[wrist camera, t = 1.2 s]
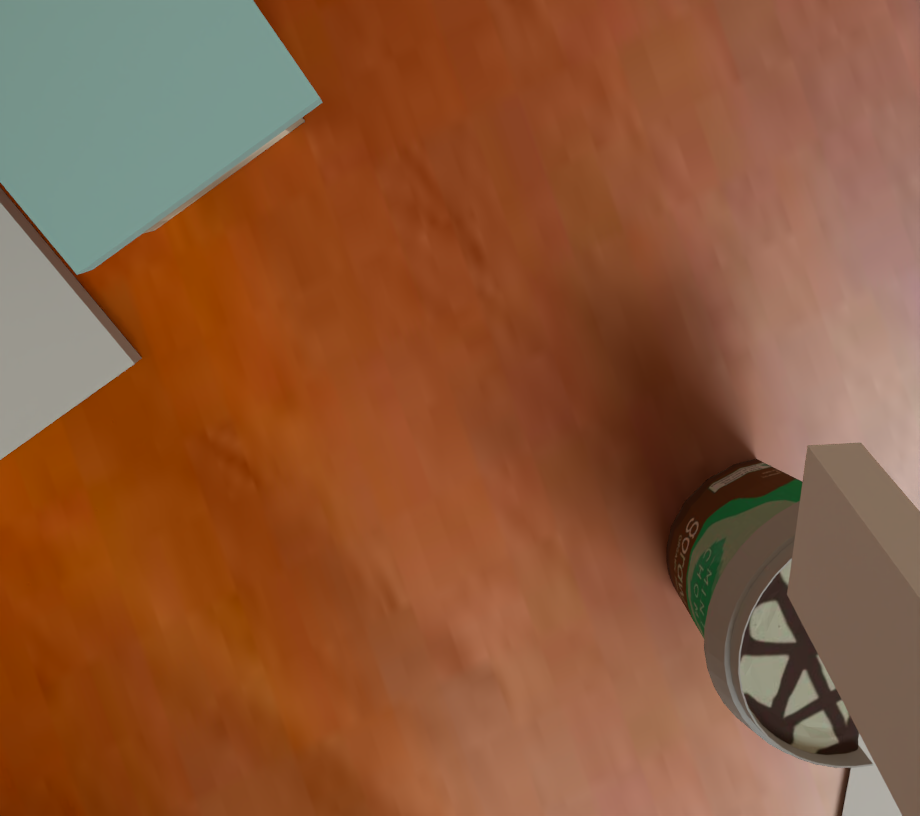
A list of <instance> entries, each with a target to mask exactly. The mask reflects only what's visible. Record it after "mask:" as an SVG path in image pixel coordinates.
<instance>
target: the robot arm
mask: <svg viewBox="0 0 920 816" xmlns="http://www.w3.org/2000/svg"><path fill="white" fill-rule="evenodd" d="M787 596H788V597H789V599H790V601H791V603H792V605H793V607H794V609H795V611H796V613H797V615H798V617H799V619H800V620H801V622H802V624H803V626H804V628H805V630H806V632H807V634H808V636H809V638H810V640H811V642H812V643H813V645H814V647H815V649H816V651H817V653H818V655H819V657H820V659H821V661H822V663H823V665H824V666H825V668H826V670H827V672H828V674H829V676H830V678H831V680H832V682H833V684H834V686H835V688H836V689H837V691H838V693H839V695H840V697H841V699H842V701H843V703H844V705H845V707H846V709H847V711H848V712H849V714H850V716H851V718H852V720H853V722H854V724H855V726H856V728H857V730H858V732H859V734H860V735H861V737H862V739H863V741H864V743H865V745H866V747H867V749H868V751H869V753H870V755H871V757H872V758H873V760H874V762H875V764H876V766H877V768H878V770H879V772H880V774H881V776H882V778H883V780H884V781H885V783H886V785H887V787H888V789H889V791H890V793H891V795H892V797H893V799H894V801H895V803H896V804H897V806H898V808H899V810H900V812H901V814H902V816H920V511H919V510H918V509H917V508H916V507H915V506H914V504H913V503H912V502H911V501H910V500H909V499H908V497H907V496H906V495H905V494H904V493H903V492H902V490H901V489H900V488H899V487H898V486H897V485H896V483H895V482H894V481H893V480H892V479H891V478H890V476H889V475H888V474H887V473H886V472H885V470H884V469H883V468H882V467H881V466H880V465H879V463H878V462H877V461H876V460H875V459H874V458H873V456H872V455H871V454H870V453H869V452H868V451H867V449H866V448H865V447H864V446H863V445H862V444H861V443H847V444H828V445H809V446H807V454H806V461H805V468H804V475H803V482H802V490H801V497H800V504H799V511H798V518H797V526H796V533H795V540H794V547H793V555H792V562H791V569H790V576H789V583H788V591H787Z"/></svg>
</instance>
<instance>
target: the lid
mask: <svg viewBox="0 0 920 816" xmlns="http://www.w3.org/2000/svg"><path fill="white" fill-rule="evenodd" d="M321 103H323V102H322V101H321V99H320V97H319V96H318V94H317V93H316V91H315V90H314V89H313V87H312V86H311V84H310V83H309V81H308V80H307V78H306V77H305V75H304V74H303V73H302V71H301V70H300V68H299V67H298V65H297V64H296V62H295V61H294V59H293V58H292V56H291V55H290V54H289V52H288V51H287V49H286V48H285V46H284V45H283V43H282V42H281V40H280V39H279V38H278V36H277V35H276V33H275V32H274V30H273V29H272V27H271V26H270V24H269V23H268V21H267V20H266V19H265V17H264V16H263V14H262V13H261V11H260V10H259V8H258V7H257V5H256V4H255V3H254V1H253V0H0V182H1V184H2V185H3V186H4V187H5V189H6V190H7V191H8V192H9V193H10V195H11V196H12V197H13V198H14V199H15V201H16V202H17V203H18V204H19V205H20V207H21V208H22V209H23V210H24V211H25V213H26V214H27V215H28V216H29V217H30V219H31V220H32V221H33V222H34V224H35V225H36V226H37V227H38V228H39V230H40V231H41V232H42V233H43V234H44V236H45V237H46V238H47V239H48V240H49V242H50V243H51V244H52V245H53V246H54V248H55V249H56V250H57V251H58V252H59V254H60V255H61V256H62V257H63V259H64V260H65V261H66V262H67V263H68V265H69V266H70V267H71V268H72V269H73V271H74V272H75V273H76V274H77V275H78V274H81V273H84V272H87V271H90V270H93V269H94V268H96V267H97V266H98V265H100V264H101V263H102V262H104V261H105V260H107V259H108V258H109V257H111V256H112V255H113V254H115V253H116V252H118V251H119V250H120V249H122V248H123V247H124V246H126V245H127V244H129V243H130V242H131V241H133V240H134V239H135V238H137V237H138V236H140V235H141V234H142V233H144V232H145V231H146V230H148V229H149V228H151V227H152V226H153V225H155V224H156V223H157V222H159V221H160V220H162V219H163V218H164V217H166V216H167V215H168V214H170V213H171V212H173V211H174V210H175V209H177V208H178V207H179V206H181V205H182V204H184V203H185V202H186V201H188V200H189V199H190V198H192V197H193V196H195V195H196V194H197V193H199V192H200V191H201V190H203V189H204V188H206V187H207V186H208V185H210V184H211V183H213V182H214V181H215V180H217V179H218V178H219V177H221V176H222V175H224V174H225V173H226V172H228V171H229V170H230V169H232V168H233V167H235V166H236V165H237V164H239V163H240V162H241V161H243V160H244V159H246V158H247V157H248V156H250V155H251V154H252V153H254V152H255V151H257V150H258V149H259V148H261V147H262V146H263V145H265V144H266V143H268V142H269V141H270V140H272V139H273V138H274V137H276V136H277V135H279V134H280V133H281V132H283V131H284V130H285V129H287V128H288V127H290V126H291V125H292V124H294V123H295V122H296V121H298V120H299V119H301V118H302V117H303V116H305V115H306V114H307V113H309V112H310V111H312V110H313V109H314V108H316V107H317V106H318V105H320V104H321Z"/></svg>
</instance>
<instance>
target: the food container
mask: <svg viewBox="0 0 920 816" xmlns="http://www.w3.org/2000/svg"><path fill="white" fill-rule="evenodd" d="M801 490H802V481H800V480H798V479H796V478H794V477H792V476H790V475H788V474H786V473H784V472H781V471H779V470H777V469H775V468H773V467H771V466H769V465H767V464H765V463H763V462H761V461H759V460H757V459H754V460H751V461H747V462H743V463H739V464H735V465H733V466H731V467H729V468H727V469H726V470H724V471H722V472H720V473H718V474H717V475H715V476H713V477H711V478H709V479H707V480H706V481H705V482H704V483H703V484H702V485H701V486H700V487H699V488H698V489H697V490H696V491H695V492H694V493H693V494H692V495H691V496H690V497H689V498H688V499H687V500H686V501H685V503H684V505H683V506H682V508H681V510H680V512H679V514H678V515H677V517H676V519H675V521H674V523H673V525H672V526H671V531H670V535H669V540H668V544H667V565H668V571H669V575H670V578H671V580H672V583H673V586H674V587H675V589H676V591H677V593H678V594H679V596H680V598H681V600H682V601H683V603H684V605H685V607H686V608H687V610H688V612H689V614H690V615H691V617H692V619H693V621H694V622H695V624H696V626H697V627H698V629H699V631H700V633H701V634H702V636H703V638H704V651H705V657H706V663H707V669H708V671H709V674H710V677H711V680H712V683H713V685H714V687H715V689H716V691H717V693H718V694H719V696H720V698H721V699H722V701H723V703H724V704H725V705H726V706H727V707H728V708H729V710H730V711H731V712H732V713H733V714H734V715H735V716H736V717H737V718H738V719H739V720H740V721H742V722H743V723H744V724H745V725H746V726H748V727H749V728H750V729H751V730H752V731H754V732H755V733H756V734H757V735H759V736H760V737H761V738H762V739H764V740H765V741H766V742H767V743H769V744H770V745H772V746H774V747H776V748H777V749H779V750H781V751H783V752H785V753H787V754H790V755H792V756H794V757H796V758H798V759H801V760H804V761H807V762H810V763H813V764H816V765H822V766H828V767H834V768H857V767H865V766H873V763H872V762H871V761H870V759H869V758H868V757H867V755H866V754H865V753H864V751H863V750H862V749H861V748H860V746H859V745H858V738H859V732H858V730H857V728H856V726H855V724H854V722H853V720H852V718H851V716H850V714H849V712H848V711H847V709H846V707H845V705H844V703H843V701H842V699H841V697H840V695H839V693H838V691H837V689H836V688H835V686H834V684H833V682H832V680H831V678H830V676H829V674H828V672H827V670H826V668H825V666H824V665H823V663H822V661H821V659H820V657H819V655H818V653H817V651H816V649H815V647H814V645H813V643H812V642H811V640H810V638H809V636H808V634H807V632H806V630H805V628H804V626H803V624H802V622H801V620H800V619H799V617H798V615H797V613H796V611H795V609H794V607H793V605H792V603H791V601H790V599H789V597H788V596H787V591H788V583H789V576H790V569H791V562H792V555H793V547H794V540H795V533H796V526H797V518H798V511H799V504H800V497H801Z"/></svg>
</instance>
